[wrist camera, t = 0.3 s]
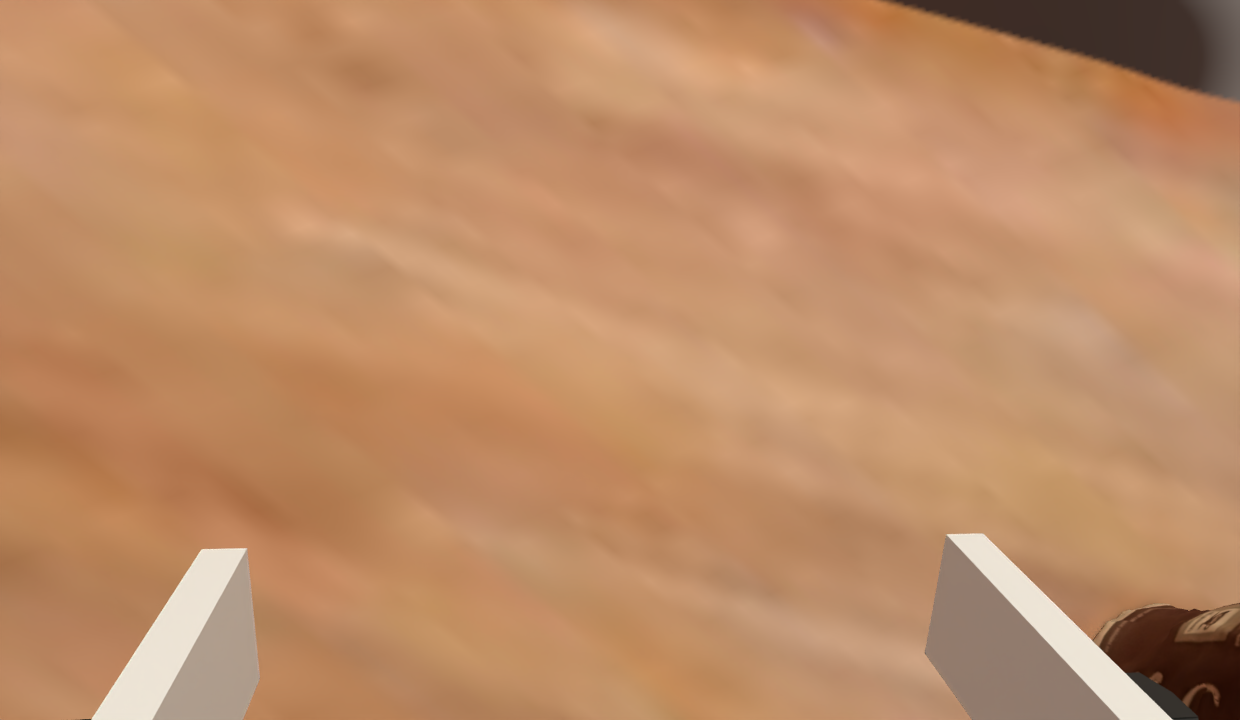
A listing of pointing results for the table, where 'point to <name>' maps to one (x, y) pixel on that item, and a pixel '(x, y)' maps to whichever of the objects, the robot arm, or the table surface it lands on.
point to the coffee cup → (1182, 654)
